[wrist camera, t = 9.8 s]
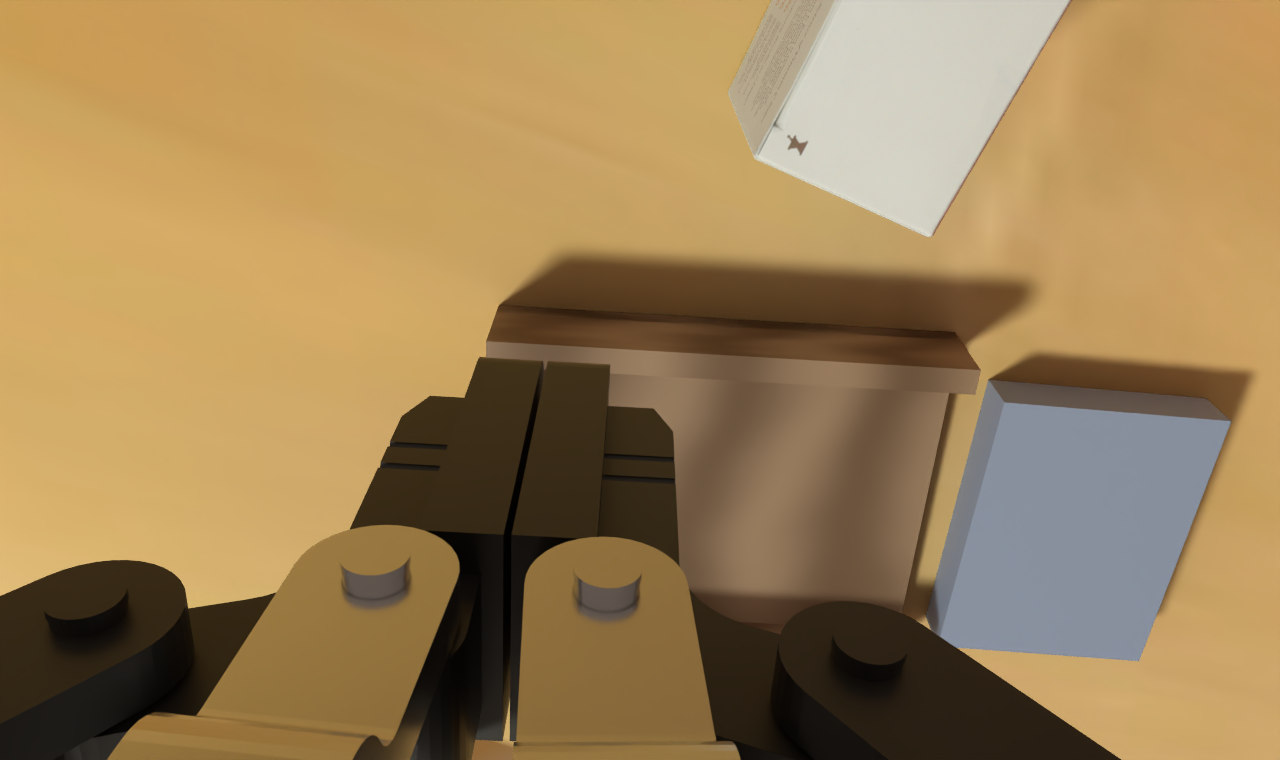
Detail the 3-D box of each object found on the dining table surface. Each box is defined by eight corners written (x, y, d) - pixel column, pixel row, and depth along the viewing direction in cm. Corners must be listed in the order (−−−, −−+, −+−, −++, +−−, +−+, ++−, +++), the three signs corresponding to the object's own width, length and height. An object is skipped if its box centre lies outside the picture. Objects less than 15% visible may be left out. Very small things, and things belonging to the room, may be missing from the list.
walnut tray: (954, 332, 41) (980, 370, 38) (890, 636, 47) (907, 690, 44) (498, 305, 40) (486, 341, 37) (498, 615, 47) (487, 668, 44)
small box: (859, 157, 38) (930, 249, 28) (722, 92, 37) (748, 165, 27) (978, -59, 35) (1103, -37, 25) (832, -137, 34) (905, -144, 24)
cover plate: (1200, 392, 42) (1231, 421, 40) (1115, 624, 48) (1139, 660, 45) (985, 374, 42) (1004, 402, 40) (923, 609, 47) (937, 645, 45)
